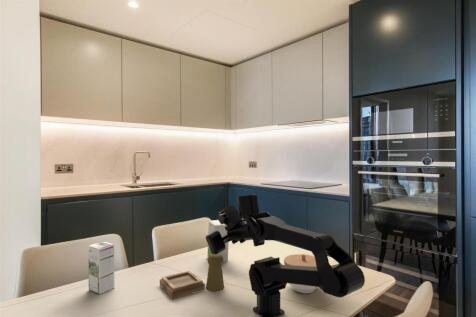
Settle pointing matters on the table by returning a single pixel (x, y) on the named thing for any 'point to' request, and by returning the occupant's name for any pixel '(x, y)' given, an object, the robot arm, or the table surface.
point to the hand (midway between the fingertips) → (219, 234)
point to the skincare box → (219, 227)
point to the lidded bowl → (301, 261)
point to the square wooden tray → (181, 284)
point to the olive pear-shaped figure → (215, 273)
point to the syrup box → (101, 267)
